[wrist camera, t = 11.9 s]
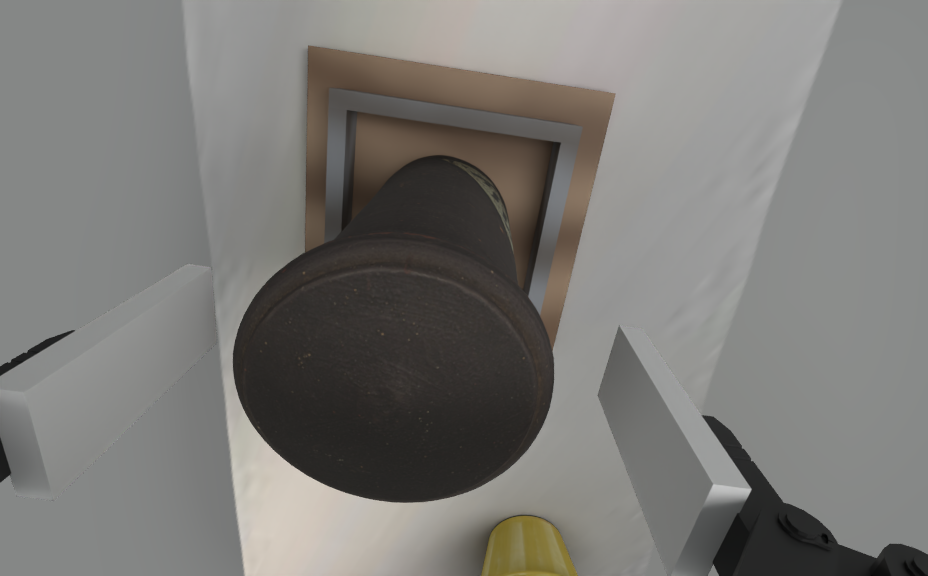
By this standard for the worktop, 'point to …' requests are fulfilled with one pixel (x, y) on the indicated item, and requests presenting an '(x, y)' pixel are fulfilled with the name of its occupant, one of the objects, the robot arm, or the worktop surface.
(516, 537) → the plant pot
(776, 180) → the worktop surface
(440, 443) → the container
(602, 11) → the worktop surface
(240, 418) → the worktop surface
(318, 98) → the collar stand
